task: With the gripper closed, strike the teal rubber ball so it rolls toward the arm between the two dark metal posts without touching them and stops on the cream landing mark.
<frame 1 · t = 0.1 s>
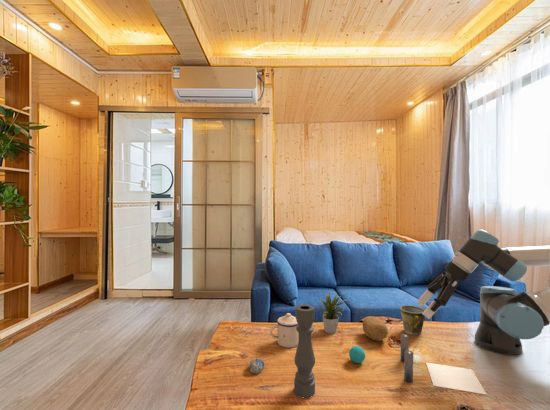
hand: (422, 310, 116), 15 cm above the table, tool tilted 35°, fingers open, 13 cm apart
candle holder: (304, 392, 90), on the table
house plant: (330, 332, 132), on the table
ceramic cup: (413, 333, 131), on the table
landing mark: (453, 377, 98), on the table
post 2: (408, 380, 96), on the table
post 1: (404, 360, 108), on the table
decorative stone: (256, 370, 103), on the table
ball: (357, 354, 107), on the table
potato: (374, 338, 126), on the table
teacup with lid: (284, 343, 121), on the table
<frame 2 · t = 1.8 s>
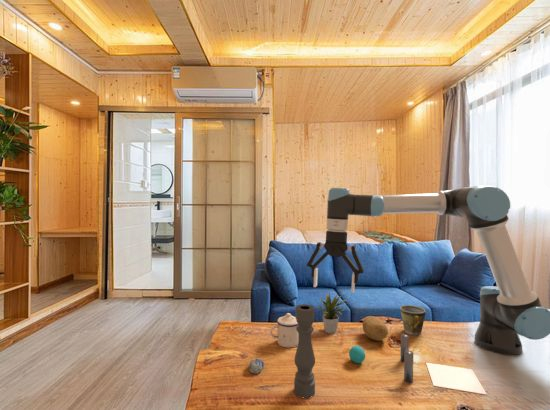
hand: (333, 289, 111), 25 cm above the table, tool pointing down, fingers open, 13 cm apart
nothing on the table moved.
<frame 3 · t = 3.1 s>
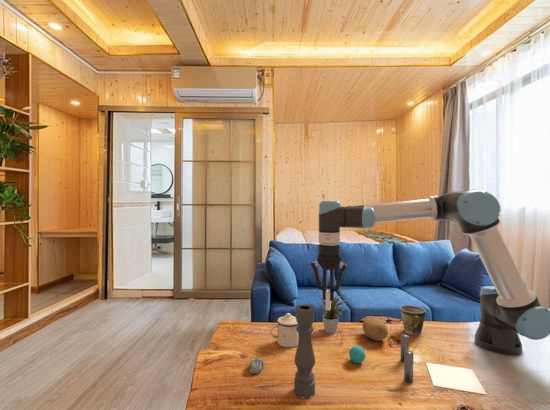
hand: (328, 309, 110), 18 cm above the table, tool pointing down, fingers closed
nothing on the table moved.
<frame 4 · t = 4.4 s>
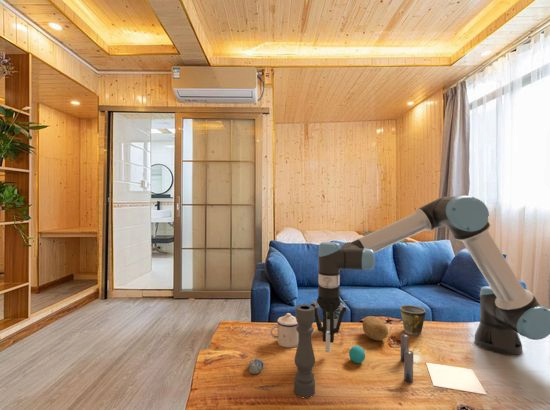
hand: (328, 350, 110), 3 cm above the table, tool pointing down, fingers closed
nothing on the table moved.
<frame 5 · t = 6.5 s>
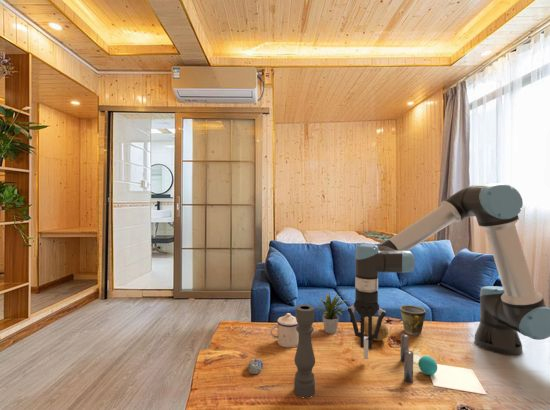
hand: (365, 356, 106), 2 cm above the table, tool pointing down, fingers closed
ball: (427, 365, 100), on the table
everything else where it was.
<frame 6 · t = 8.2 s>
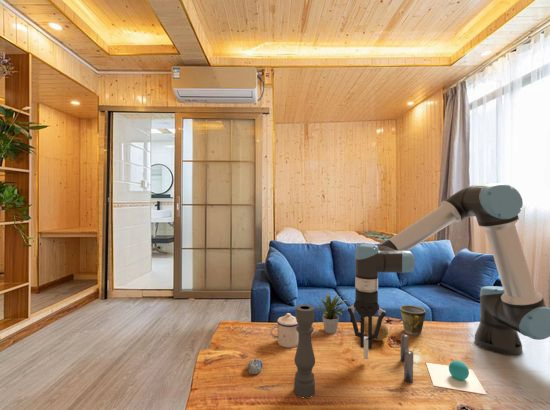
hand: (365, 356, 106), 2 cm above the table, tool pointing down, fingers closed
ball: (458, 370, 97), on the table
everything else where it was.
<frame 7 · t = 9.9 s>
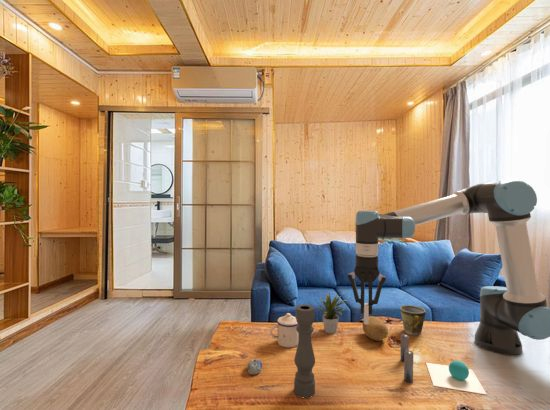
hand: (366, 322, 106), 14 cm above the table, tool pointing down, fingers closed
nothing on the table moved.
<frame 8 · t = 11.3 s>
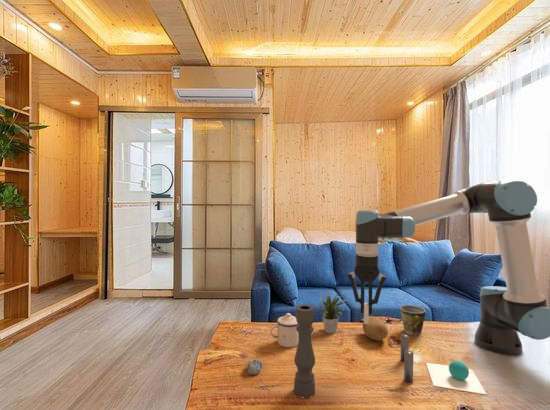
hand: (366, 322, 106), 14 cm above the table, tool pointing down, fingers closed
at the end: ball 1.4 cm from the landing mark (horizontally); ball never touched post 2; ball never touched post 1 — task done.
